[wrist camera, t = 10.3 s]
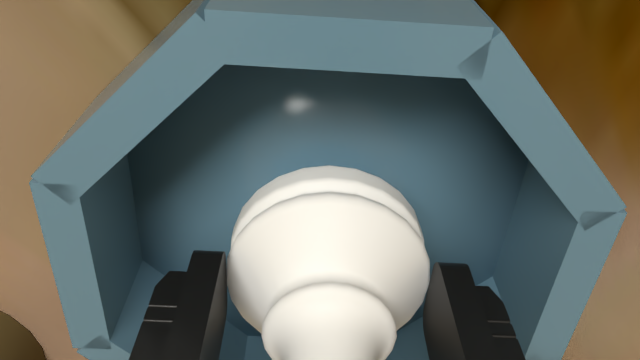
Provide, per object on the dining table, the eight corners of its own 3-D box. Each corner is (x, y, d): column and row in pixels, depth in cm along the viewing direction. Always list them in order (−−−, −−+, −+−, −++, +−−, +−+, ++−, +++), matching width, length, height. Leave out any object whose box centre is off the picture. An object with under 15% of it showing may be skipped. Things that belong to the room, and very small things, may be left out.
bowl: (608, -13, 13) (705, 40, 10) (487, 347, 20) (520, 450, 17) (67, -49, 13) (-22, -5, 10) (133, 332, 20) (96, 435, 17)
